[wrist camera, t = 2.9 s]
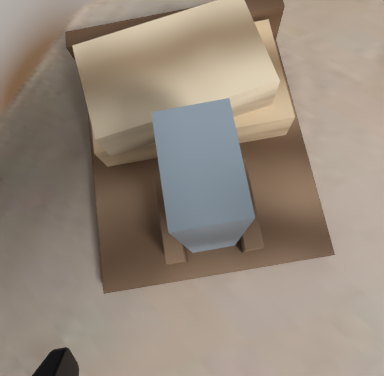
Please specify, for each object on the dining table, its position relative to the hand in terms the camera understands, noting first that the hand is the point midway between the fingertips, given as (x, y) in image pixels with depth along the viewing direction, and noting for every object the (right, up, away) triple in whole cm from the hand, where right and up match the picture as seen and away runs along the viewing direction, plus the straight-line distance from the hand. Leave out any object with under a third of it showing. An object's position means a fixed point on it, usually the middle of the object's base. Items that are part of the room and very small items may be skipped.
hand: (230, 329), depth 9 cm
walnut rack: (-1, +6, +14) cm, 15 cm away
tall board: (0, +2, +11) cm, 12 cm away
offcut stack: (-1, +9, +13) cm, 16 cm away
